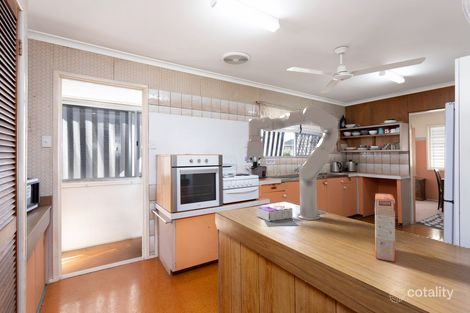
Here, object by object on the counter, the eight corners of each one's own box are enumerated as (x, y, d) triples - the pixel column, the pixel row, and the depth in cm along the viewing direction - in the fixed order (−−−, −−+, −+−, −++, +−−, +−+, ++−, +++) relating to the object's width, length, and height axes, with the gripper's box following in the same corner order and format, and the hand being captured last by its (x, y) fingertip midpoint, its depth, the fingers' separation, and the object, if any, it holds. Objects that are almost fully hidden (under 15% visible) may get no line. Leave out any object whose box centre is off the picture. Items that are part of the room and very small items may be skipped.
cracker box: (396, 263, 76) (395, 199, 76) (375, 259, 79) (374, 198, 79) (394, 248, 88) (393, 193, 88) (375, 245, 91) (374, 192, 91)
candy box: (256, 206, 139) (278, 204, 146) (256, 216, 139) (278, 213, 146) (268, 211, 126) (292, 207, 133) (269, 221, 126) (293, 218, 133)
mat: (287, 214, 144) (287, 214, 144) (298, 225, 120) (298, 225, 120) (261, 214, 143) (261, 214, 143) (267, 226, 119) (267, 225, 119)
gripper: (265, 139, 148) (266, 167, 147) (242, 139, 147) (243, 168, 147) (267, 137, 140) (268, 168, 140) (243, 138, 140) (243, 168, 140)
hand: (255, 168), depth 144 cm, fingers closed
